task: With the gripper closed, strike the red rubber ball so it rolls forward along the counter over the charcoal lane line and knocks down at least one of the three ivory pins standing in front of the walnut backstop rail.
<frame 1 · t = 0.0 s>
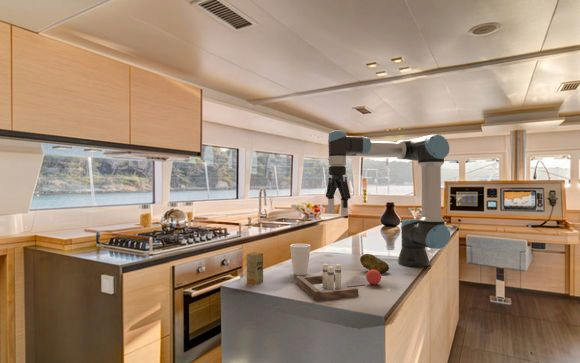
hand: (337, 214, 149), 28 cm above the table, tool pointing down, fingers open, 13 cm apart
potato: (374, 272, 160), on the table
shoe polish box: (255, 282, 143), on the table
ball: (373, 276, 139), on the table
right rear pin: (325, 287, 136), on the table
backstop rail: (326, 288, 133), on the table
left rear pin: (330, 290, 131), on the table
lane line: (356, 285, 137), on the table
foam cup: (300, 273, 157), on the table
front pin: (338, 287, 135), on the table
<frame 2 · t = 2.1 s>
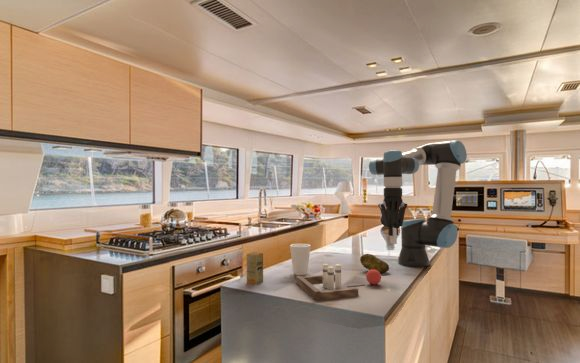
hand: (393, 243, 142), 16 cm above the table, tool pointing down, fingers closed
nothing on the table moved.
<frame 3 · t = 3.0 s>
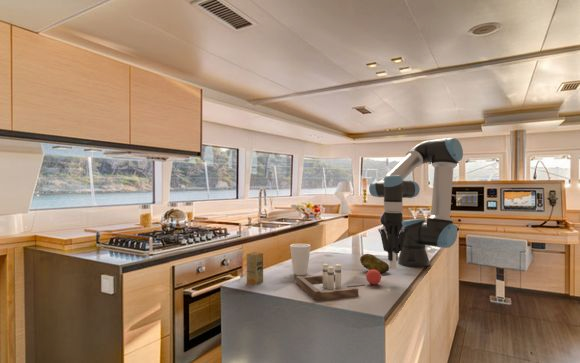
hand: (392, 268, 142), 6 cm above the table, tool pointing down, fingers closed
nothing on the table moved.
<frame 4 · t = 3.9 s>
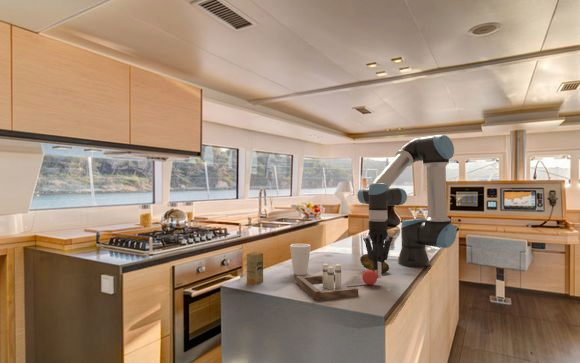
hand: (378, 277, 140), 3 cm above the table, tool pointing down, fingers closed
ball: (369, 277, 139), on the table, touching gripper
everything else where it was.
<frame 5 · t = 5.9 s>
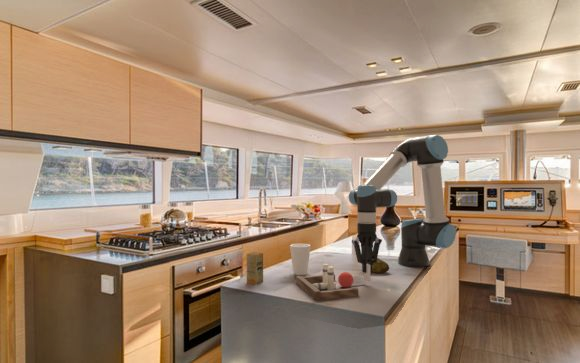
hand: (367, 280, 139), 2 cm above the table, tool pointing down, fingers closed
ball: (345, 279, 135), on the table
front pin: (334, 285, 134), point 1 cm above the table, tilted 90°
everything else where it was.
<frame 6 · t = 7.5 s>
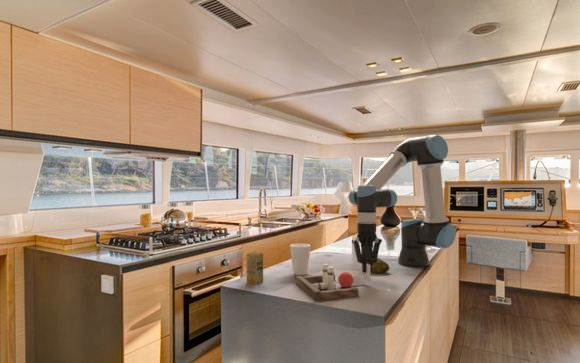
hand: (367, 280, 139), 2 cm above the table, tool pointing down, fingers closed
nothing on the table moved.
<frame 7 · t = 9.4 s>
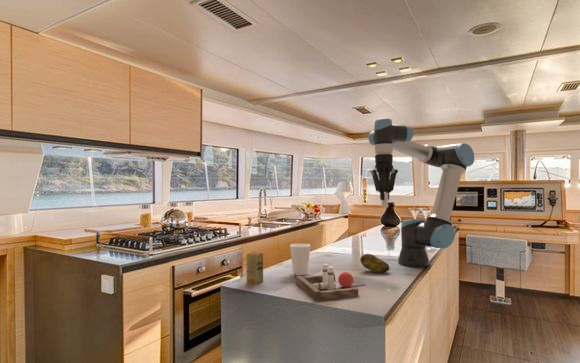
hand: (385, 207, 150), 31 cm above the table, tool pointing down, fingers closed
nothing on the table moved.
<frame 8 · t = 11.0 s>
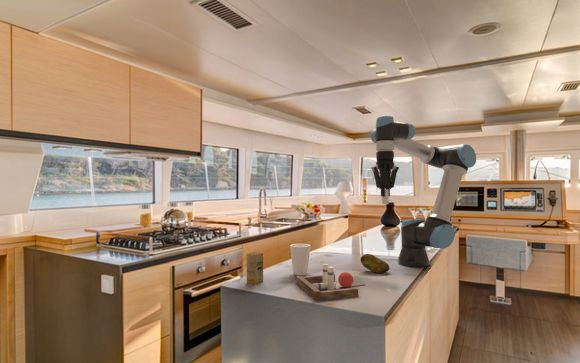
hand: (385, 204, 151), 32 cm above the table, tool pointing down, fingers closed
nothing on the table moved.
at the end: 1 of 3 knocked over (down: front pin; still standing: left rear pin, right rear pin); front pin never touched the robot; ball moved 12.8 cm from its start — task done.
